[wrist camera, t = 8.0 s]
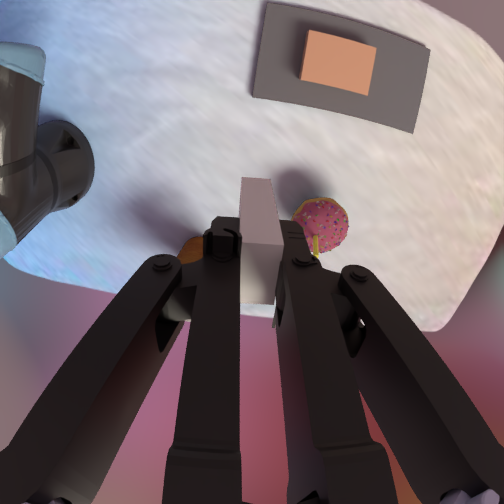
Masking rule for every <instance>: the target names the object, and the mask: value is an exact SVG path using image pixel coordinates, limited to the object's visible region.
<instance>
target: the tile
mask: <svg viewBox="0 0 504 504" xmlns="http://www.w3.org/2000/svg"><path fill="white" fill-rule="evenodd" d="M376 49H377V48H375V47H372V46H369V45H366V44H362V43H359V42H356V41H352V40H349V39H345V38H341V37H338V36H334V35H330V34H326V33H321V32H317V31H312V30H309V31H307V33H306V39H305V45H304V51H303V56H302V62H301V68H300V74H299V80H303V81H308V82H313V83H318V84H323V85H327V86H331V87H335V88H340V89H344V90H348V91H351V92H355V93H359V94H362V95H367V96H368V91H369V86H370V81H371V76H372V71H373V66H374V60H375V55H376Z"/></svg>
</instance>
